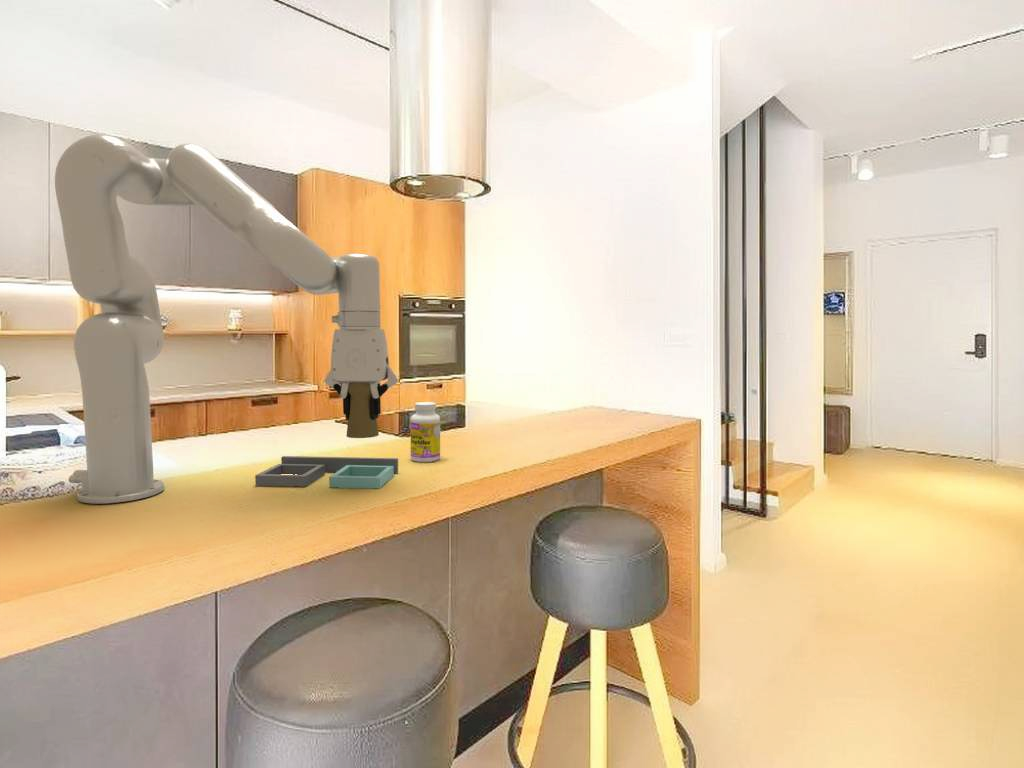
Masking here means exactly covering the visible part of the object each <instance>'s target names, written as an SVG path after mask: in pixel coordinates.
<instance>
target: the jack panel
mask: <svg viewBox="0 0 1024 768" xmlns="http://www.w3.org/2000/svg"><path fill="white" fill-rule="evenodd" d="M280 458H281V461H280V462H281V463H277V464H276V465H273V466H272V467H269V468H267V469H265V470H262V471H261V472H259V473H256V474H255V476H254V479H255V482H254V483H255V487H281V486H300V487H299V488H306V487H308V486H309V485H311V484H312V482H313V483H314V482H316V481H317V480H319V479H320V478H322V477H323V476H325V475H326V473H332V474H331V475H330V476H329V477H328V484H329V486H328V487H338V488H337V489H339V488H340V489H341V488H342V489H373V488H379V489H381V488H383V487H384V486H385V485H386V484H387V483H388V482H389V481H390V480H391V479H392V478H393V477H394V476H395V474H394V473H397V474H399V458H398V457H359V456H357V457H355V456H354V457H353V456H349V457H346V456H302V455H301V456H299V455H297V456H296V455H295V456H293V455H282V456H281V457H280ZM334 472H336V473H334ZM281 474H293V475H281ZM295 474H297V475H295ZM324 474H325V475H324ZM322 475H323V476H322ZM321 476H322V477H321ZM318 478H319V479H318ZM389 479H390V480H389ZM315 480H316V481H315ZM388 480H389V481H388ZM387 481H388V482H387ZM386 482H387V483H386ZM385 483H386V484H385ZM384 484H385V485H384ZM307 485H308V486H307Z"/></svg>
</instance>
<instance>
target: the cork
mask: <svg viewBox="0 0 1024 768" xmlns="http://www.w3.org/2000/svg"><path fill="white" fill-rule="evenodd" d="M348 393H349V394H350V395H351V398H350V414H349V419H347V426H346V427H347V428H346V438H350V439H368V438H375V437H378V436H380V433H379V426H378V422H377V419H375V420H371V418H370V399H371V398H372V392H371V386H370V383H349V384H348Z"/></svg>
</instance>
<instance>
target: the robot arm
mask: <svg viewBox="0 0 1024 768" xmlns="http://www.w3.org/2000/svg"><path fill="white" fill-rule="evenodd" d="M56 164H57V165H56V167H55V173H54V187H55V188H54V189H55V196H56V202H57V205H58V211H59V215H60V221H61V226H62V234H63V240H64V247H65V253H66V258H67V262H68V264H67V265H68V270H69V271H68V272H69V275H70V281H71V284H72V287H73V289H74V290H75V292H76V293H77V294H78V296H80V297H81V298H82V299H84V300H86V301H87V302H90V303H94V304H98V305H100V310H101V312H100V313H97V314H93V315H91V316H89V317H87V318H86V319H85V320H83V321H82V322H81V323H80V324H79V326H78V327H77V329H76V331H75V334H74V338H73V350H74V354H75V355H74V356H75V361H76V363H77V364H76V365H77V369H78V373H79V377H80V385H81V395H82V407H83V408H82V409H83V422H84V438H85V439H84V440H85V457H86V469H75V470H74V471H73V473H72V475H70V476H69V477H68V482H69V483H70V484H81V489H80V490H79V491H78V492H77V493H76V494H77V495H76V496H77V497H76V498H77V500H78V501H79V502H81V503H85V504H92V505H93V504H94V505H95V504H96V505H98V504H99V505H100V504H101V505H102V504H115V503H124V502H132V501H137V500H141V499H142V500H143V499H145V498H149V497H152V496H155V495H159V494H160V493H161V492H162V491H164V490H165V483H164V481H162V480H160V479H155V478H154V459H153V458H154V456H153V439H152V436H153V435H152V419H151V404H150V403H151V402H150V399H151V398H150V390H149V389H150V388H149V387H150V386H149V382H148V376H147V372H146V368H145V364H148V363H150V362H152V361H153V360H155V359H156V358H157V357H158V356H159V354H160V353H161V351H162V349H163V347H164V346H163V345H164V329H163V323H162V317H161V311H160V305H159V299H158V292H157V288H156V283H155V279H154V277H153V275H152V273H151V271H150V270H149V268H148V267H147V265H145V263H143V262H142V261H141V260H139V259H138V258H136V257H133V256H132V255H130V252H129V248H128V244H127V239H126V233H125V232H126V231H125V225H124V221H123V219H122V215H121V212H120V209H119V206H118V202H117V197H119V198H121V199H122V200H125V201H126V202H129V203H132V204H137V205H145V206H172V207H176V206H177V207H199V208H200V209H201V210H203V211H204V212H205V213H206V214H208V216H210V217H211V218H212V219H213V220H215V221H216V222H217V223H218V224H220V225H221V227H223V228H224V229H225V230H227V231H228V232H229V233H230V234H232V236H234V237H235V238H237V239H238V240H239V241H240V242H241V243H243V244H245V245H247V246H249V247H250V248H251V249H253V250H254V251H256V252H257V254H259V255H260V256H261V257H263V258H264V259H265V260H266V261H267V262H269V264H271V265H272V266H273V267H275V268H276V269H277V270H278V271H280V272H281V273H282V274H283V275H284V276H286V278H288V279H289V280H290V281H292V282H293V284H295V285H296V286H297V287H299V288H300V289H302V290H303V291H305V292H306V293H307V294H311V295H314V296H315V295H317V296H324V295H332V294H338V297H337V298H338V312H337V314H336V315H332V317H331V323H333V324H337V325H338V327H339V328H338V329H337V328H335V329H334V330H333V331H334V332H333V336H332V345H331V354H330V355H331V356H330V357H331V358H330V370H329V372H328V373H327V375H326V376H325V378H324V380H323V382H324V384H326V385H328V386H329V387H331V388H333V390H335V392H337V394H338V395H339V396H340V398H341V399H342V410H343V411H342V412H343V415H344V416H345V420H348V419H349V414H350V398H351V395H350V394H349V393H348V384H349V383H370V386H371V392H372V398H371V399H370V418H371V420H375V419H376V420H377V419H379V416H380V415H381V412H382V410H381V409H382V408H381V402H382V401H381V398H382V397H383V395H384V394H385V393H386V392H387V391H388V390H389V389H390V388H392V387H393V386H395V385H397V383H399V379H398V377H397V376H396V374H395V373H394V371H393V369H392V368H391V367H390V359H389V358H390V357H389V350H388V349H389V348H388V342H387V337H386V332H385V329H382V327H381V326H382V325H381V292H380V291H381V288H380V287H381V280H380V276H381V275H380V273H381V272H380V263H379V262H380V261H379V260H378V258H377V257H376V256H374V255H371V254H366V253H365V254H363V253H347V254H342V255H341V256H340V257H334V256H330V255H329V254H328V253H327V252H326V251H325V250H324V249H323V248H321V247H320V246H319V245H318V244H317V243H315V242H314V241H313V240H312V239H311V238H309V237H308V236H307V235H306V234H305V233H304V232H302V231H301V230H300V229H299V228H298V227H296V226H295V225H294V224H293V223H292V222H291V221H290V220H288V219H287V218H286V217H285V216H284V215H283V214H281V213H280V212H279V211H278V210H277V209H276V207H275V206H273V204H272V203H270V202H269V201H268V200H267V199H266V198H265V197H263V196H262V195H261V194H260V193H259V192H257V191H256V190H255V189H254V188H253V187H252V186H251V185H249V184H248V183H247V182H246V181H244V180H243V178H241V177H240V176H239V175H238V174H236V172H234V170H232V169H231V168H230V167H228V166H227V165H226V164H225V163H224V162H223V161H221V160H220V159H219V157H217V156H215V155H214V154H213V153H212V152H211V151H209V149H206V148H204V147H202V146H200V145H198V144H194V143H182V144H179V145H177V146H175V147H173V148H172V149H171V150H170V151H169V152H168V154H167V157H166V158H157V157H156V158H152V157H147V156H146V155H144V154H143V153H142V152H141V151H139V150H138V149H136V148H135V147H134V146H132V145H131V144H130V143H128V142H126V141H124V140H122V139H121V138H119V137H116V136H113V135H110V134H109V135H108V134H92V135H86V136H84V137H82V138H80V139H78V140H76V141H74V142H73V143H72V144H70V146H68V147H67V148H66V149H65V151H64V152H63V153H62V154H61V156H60V158H59V160H58V161H57V163H56ZM386 380H387V381H386ZM381 381H386V382H384V383H383V384H382V383H381Z"/></svg>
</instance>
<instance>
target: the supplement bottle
mask: <svg viewBox="0 0 1024 768" xmlns="http://www.w3.org/2000/svg"><path fill="white" fill-rule="evenodd" d="M436 409H437V404H436V402H432V401H420V402H419V401H418V402H415V403H414V410H415V413H414V414H413V415H411V417H410V420H409V421H410V460H412V461H413V462H418V463H432V461H433V462H437V461H438V460H439V459H440V458H441V417H440V415H439V414H438V413H436Z"/></svg>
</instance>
